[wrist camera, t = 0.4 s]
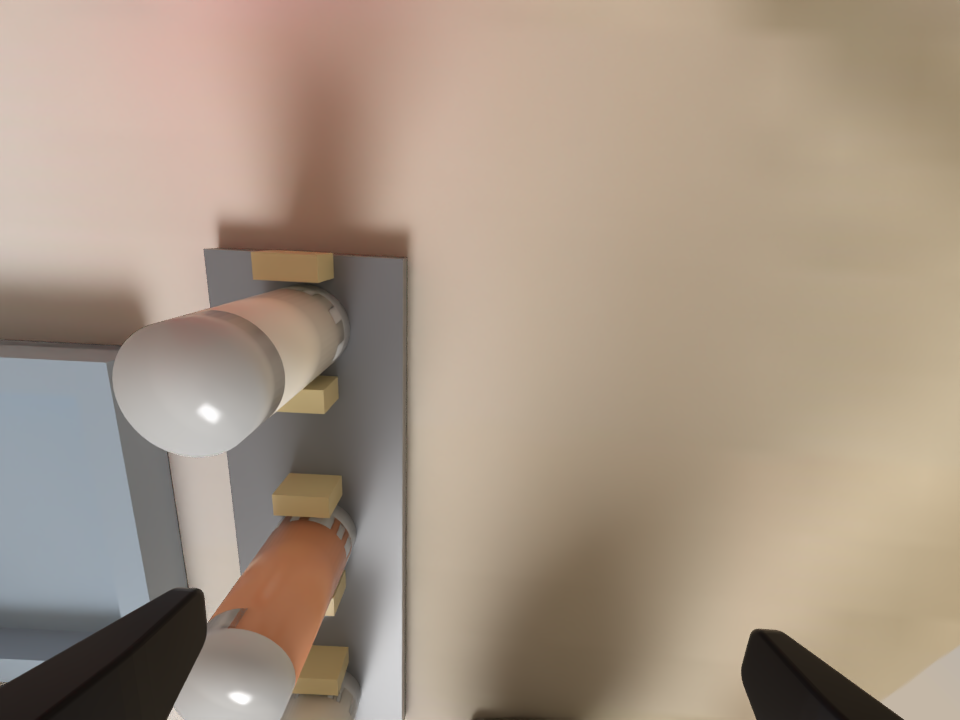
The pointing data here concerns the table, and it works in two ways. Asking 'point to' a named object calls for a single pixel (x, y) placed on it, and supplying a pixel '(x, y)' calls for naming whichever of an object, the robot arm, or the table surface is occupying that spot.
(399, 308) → the board
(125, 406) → the fuse
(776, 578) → the table surface
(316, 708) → the fuse
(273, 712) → the cylinder
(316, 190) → the table surface
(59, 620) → the tray
